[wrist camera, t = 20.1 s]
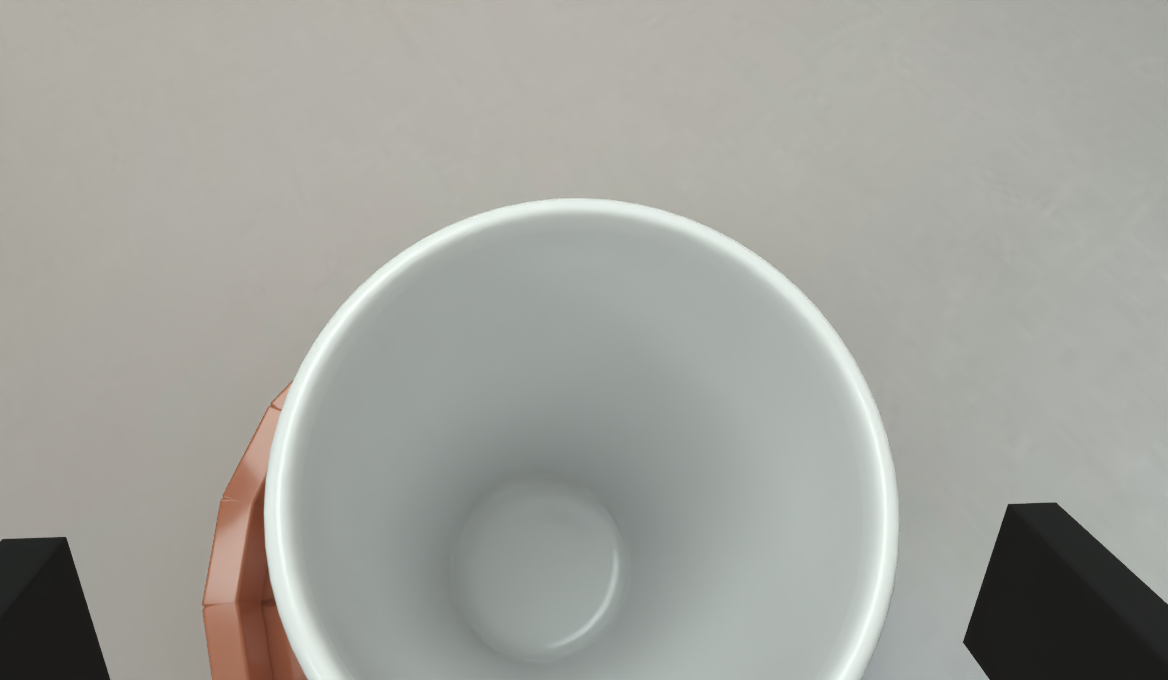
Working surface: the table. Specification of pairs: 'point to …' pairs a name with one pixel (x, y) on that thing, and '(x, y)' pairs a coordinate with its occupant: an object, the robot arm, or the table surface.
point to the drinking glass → (580, 464)
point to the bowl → (246, 575)
